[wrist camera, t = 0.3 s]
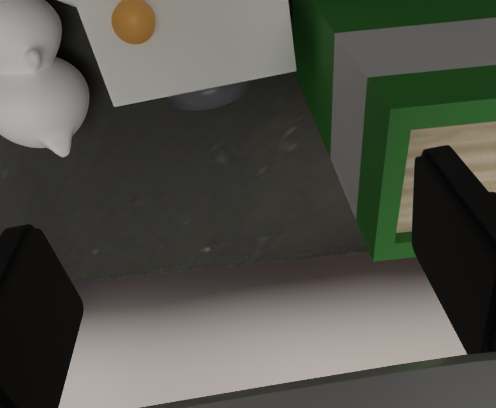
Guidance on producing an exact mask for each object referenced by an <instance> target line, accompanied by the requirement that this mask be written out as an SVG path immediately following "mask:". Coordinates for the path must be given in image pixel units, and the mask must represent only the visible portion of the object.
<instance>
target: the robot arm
mask: <svg viewBox="0 0 496 408" xmlns="http://www.w3.org/2000/svg"><path fill="white" fill-rule="evenodd" d="M412 247H413V250H414V253H415V255H416V257H417V259H418V261H419V263H420V265H421V267H422V269H423V270H424V272H425V274H426V276H427V278H428V280H429V282H430V284H431V286H432V288H433V290H434V291H435V293H436V295H437V297H438V299H439V301H440V303H441V305H442V307H443V309H444V310H445V312H446V314H447V316H448V318H449V320H450V322H451V324H452V326H453V328H454V330H455V331H456V333H457V335H458V337H459V339H460V341H461V343H462V345H463V347H464V349H465V350H466V352H467V354H468V355H461V356H454V357H447V358H440V359H434V360H427V361H420V362H413V363H406V364H400V365H393V366H387V367H381V368H375V369H368V370H362V371H356V372H350V373H344V374H338V375H332V376H326V377H320V378H313V379H307V380H301V381H295V382H289V383H283V384H278V385H271V386H265V387H259V388H253V389H247V390H241V391H235V392H230V393H224V394H218V395H212V396H206V397H200V398H194V399H189V400H182V401H176V402H170V403H165V404H159V405H153V406H147V407H141V408H496V192H489V191H488V190H487V189H486V188H485V187H484V186H483V184H482V183H481V182H480V181H479V180H478V178H477V177H476V176H475V175H474V174H473V172H472V171H471V170H470V169H469V168H468V166H467V165H466V164H465V163H464V162H463V161H462V159H461V158H460V157H459V156H458V155H457V153H456V152H455V151H454V150H453V149H452V147H450V146H449V145H444V146H439V147H433V148H428V149H424V150H423V152H422V155H421V156H418V157H416V158H415V163H414V188H413V213H412ZM82 316H83V303H82V300H81V298H80V296H79V294H78V292H77V291H76V289H75V287H74V285H73V284H72V282H71V280H70V279H69V277H68V275H67V273H66V272H65V270H64V268H63V266H62V265H61V263H60V261H59V259H58V258H57V256H56V254H55V252H54V251H53V249H52V247H51V245H50V244H49V242H48V240H47V239H46V237H45V235H44V233H43V232H42V230H40V229H38V228H37V229H35V228H34V227H33V226H32V225H29V224H27V225H22V226H16V227H11V228H7V229H5V230H4V231H3V232H2V234H1V236H0V408H58V406H59V403H60V399H61V395H62V391H63V387H64V384H65V380H66V376H67V372H68V369H69V365H70V361H71V357H72V354H73V350H74V346H75V342H76V338H77V335H78V331H79V327H80V323H81V319H82Z"/></svg>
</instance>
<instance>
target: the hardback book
mask: <svg viewBox="0 0 496 408" xmlns="http://www.w3.org/2000/svg"><path fill="white" fill-rule="evenodd" d="M292 31H293V45H294V54H295V62H296V71H294V72H295V74H296V77H297V79H298V82H299V84H300V86H301V89H302V91H303V94H304V96H305V98H306V101H307V103H308V106H309V108H310V110H311V113H312V115H313V118H314V120H315V122H316V125H317V127H318V130H319V132H320V135H321V137H322V139H323V142H324V144H325V147H326V149H327V151H328V154H329V156H330V159H331V161H332V163H333V166H334V168H335V171H336V173H337V175H338V178H339V180H340V183H341V185H342V188H343V190H344V192H345V195H346V197H347V200H348V202H349V204H350V207H351V209H352V212H353V214H354V216H355V219H356V221H357V224H358V226H359V228H360V231H361V233H362V236H363V238H364V241H365V243H366V245H367V248H368V250H369V253H370V255H371V257H372V260H373V261H382V260H391V259H401V258H410V257H416V255H415V253H414V250H413V247H412V213H413V188H414V163H415V158H416V157H418V156H421V155H422V152H423V150H424V149H428V148H433V147H439V146H444V145H449V146H450V147H452V149H453V150H454V151H455V152H456V153H457V155H458V156H459V157H460V158H461V159H462V161H463V162H464V163H465V164H466V165H467V166H468V168H469V169H470V170H471V171H472V172H473V174H474V175H475V176H476V177H477V178H478V180H479V181H480V182H481V183H482V184H483V186H484V187H485V188H486V189H487V190H488V191H489V192H496V0H292Z"/></svg>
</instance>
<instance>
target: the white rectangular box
mask: <svg viewBox="0 0 496 408" xmlns="http://www.w3.org/2000/svg"><path fill="white" fill-rule="evenodd" d="M74 2H75V4H76V7H77V10H78V12H79V15H80V18H81V20H82V23H83V26H84V28H85V31H86V34H87V36H88V39H89V42H90V44H91V47H92V50H93V52H94V55H95V58H96V60H97V63H98V66H99V68H100V71H101V74H102V76H103V79H104V82H105V84H106V87H107V90H108V92H109V95H110V98H111V100H112V103H113V106H114V107H117V106H122V105H127V104H132V103H137V102H142V101H148V100H153V99H158V98H163V97H168V100H169V103H170V104H171V105H172V106H173V107H175V108H177V109H181V110H188V111H197V110H207V109H212V108H217V107H220V106H224V105H227V104H229V103H232V102H234V101H236V100H238V99H240V98H241V97H243V96H244V95H246V94H247V93H248V92H249V91H250V90H251V88H252V86H253V80H254V79H259V78H264V77H269V76H274V75H279V74H284V73H289V72H294V71H296V62H295V54H294V45H293V37H292V28H291V20H290V11H289V3H288V0H74Z"/></svg>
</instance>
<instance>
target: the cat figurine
mask: <svg viewBox="0 0 496 408" xmlns="http://www.w3.org/2000/svg"><path fill="white" fill-rule="evenodd" d="M57 1H60V2H63V3H66V4H69V5H71V6H74V7H76V4H75V2H74V0H57ZM61 36H62V25H61V20H60V18H59V16H58V14H57V13H56V11H55V10H54V9H53V7H52V6H51V5H50V4H49V3H47V2H46V1H45V0H0V135H2V136H3V137H5V138H6V139H8V140H10V141H12V142H14V143H17V144H20V145H23V146H26V147H32V148H48V149H50V150H52V151H53V152H54V153H56V154H57V155H59V156H60V157H66V156H67V155H68V154H69V152H70V148H71V138H72V136H73V135H74V134H75V132H76V131H77V130H78V129H79V128H80V126H81V124H82V123H83V121H84V119H85V117H86V114H87V111H88V106H89V89H88V85H87V83H86V80H85V78H84V77H83V75H82V74H81V73H80V72H79V70H78V69H77V68H75V67H74V66H73V65H72V64H70V63H68V62H67V61H64V60H62V59H60V58H57V57H56V54H57V52H58V49H59V46H60V42H61Z"/></svg>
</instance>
